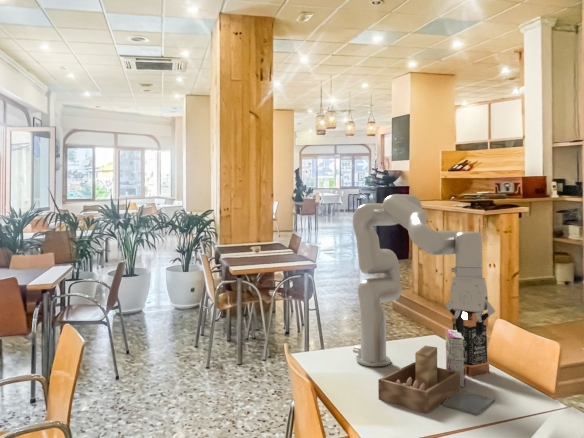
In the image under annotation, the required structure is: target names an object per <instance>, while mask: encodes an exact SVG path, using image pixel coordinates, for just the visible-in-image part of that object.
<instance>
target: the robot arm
mask: <svg viewBox="0 0 584 438" xmlns="http://www.w3.org/2000/svg"><path fill="white" fill-rule="evenodd" d="M427 222H428V213H427V212H426V210H424V209H422V202H421V200H420V199H419V197H417V196H416V195H413V194H405V193H403V194H400V193H394V194H390V195H388V196H387V197H386V198H385V197H384V199H383V202H382V203H379V202H378V203H377V202H372V203H371V202H370V203H364V204H361V205H359V206H357V208H356V209H355V210H354V212H353V215H352V228H353V231H354V234H355V238H356V248H357V249H356V250H357V256H358V264H359V265H358V266H359V269H360V272H361V273H363V274H364V275H380V277H379V276H378V277H370V278H366V279H363V280H362V281H361V282H360V283H359V284H358V286H357V297H358V301H359V307H360V308H359V309H360V310H359V313H360V346H357V345H355V346H354V347H353V350H352V352H353V353H354V354H358V356H357V357H356V362H357V363H358V364H360V365H363V366H366V367H367V366H368V367H385V366H388V365H389V364H390V363H391V358H390V357H389V356H387V314H386V311H385V309H384V307H383V305H382V303H389V302H393V301H397V300H398V299H399V298H400V296H401V293H402V284H401V283H402V281H401V272H400V263H399V259H398V257H397V254H396V253H395V252H394V251H393V250H391V249H389V248H381V246H380V239H379V235H378V234H377V231H376V230H375V229H374V228H373V227H374V226H375V227H376V226H378V227H379V226H381V227H383V226H386V227H387V226H388V227H389V226H396V225H400V226H402V227H403V228H404V229H406V230H407V231H408V236H409V238H410V240H411V242H412V243H413V244H414V245H416V246H417V247H418V248H419V249H421V250H422V251H423V252H425V253H427V254H429V255H432V256H443V255H455V266H454V267H452V268H450V269H451V273H453V274H454V275H455V276H452V280H451V286H450V293H449V294H450V295H449V296H450V298H449V300H448V301H447V302H446V303H445V305H444V307H445V308H446V309H447V310H448V311H449V312H450V314H451V315H452V316H454V318H455V319H456V329H457V332H462V331H463V330H464V326H463V318H462V313H463V311H468V312H475V313H476V316H477V319H478V320H477V322H476V335H477V336H479V335H481V334H482V333H483V332H484V321H485V320H486V319H487V320H488V318H489V317H491V316H492V315H493V314H495V313H496V309H495V308H494V307H493V305H491V302H489V296H488V289H487V288H488V287H487V282H486V279H485V278H486V277H483V236H482V234H481V232H478V231H461V230H460V231H459V230H434V229H433V228H430V227H429V226H428V225H426V224H427ZM484 311H486V312H485V313H484Z"/></svg>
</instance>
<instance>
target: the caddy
mask: <svg viewBox="0 0 584 438" xmlns="http://www.w3.org/2000/svg"><path fill="white" fill-rule="evenodd" d="M409 377H411V378H412V383H413V384H414V382H415V381H416V363H415V361H414V362H412V363H410V364H408V365H405V366H403V367H401V368H399V369H398V370H395V371H393V372H391V373H389V374H387V375H385V376H382V377H380V378H379V379H378V382H377V383H378V386H377V387H378V389H377V390H378V400H380V401H384V402H388V403H392V404H395V405H397V406H401V407H404V408H407V409H410V410H414V411H417V412H419V413H423V414H427V415H428V413H430V412H431V411H433V410H435V409H436V408H438V407H439V406H440V405H443V404H444V403H445V402H446V401H448V400H449V399H451V398H452V397H454V396H455V395H457V394H458V393H460V392H461V387H460V372H455V371H451V370H447V369H446V368H442V367H438V366H437V384H436V385H434V386H432V387H431V388H429V389H427V390H426V391H424V390H420V389H416V388H413V387H411V386H408V385H407V386H405V385H402V384H403V383H406V382H407V380H408V378H409ZM397 380H400V384H398V383H396V381H397ZM401 383H402V384H401ZM412 383H411V384H412Z"/></svg>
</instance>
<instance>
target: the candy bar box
mask: <svg viewBox="0 0 584 438" xmlns="http://www.w3.org/2000/svg"><path fill="white" fill-rule="evenodd" d="M444 333H445V369H447V370H451V371H455V372H460V388H466V379H465V378H466V375H465V357H464V337H463V336H462V334H461V332H457V330H453V329H445V331H444Z"/></svg>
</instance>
